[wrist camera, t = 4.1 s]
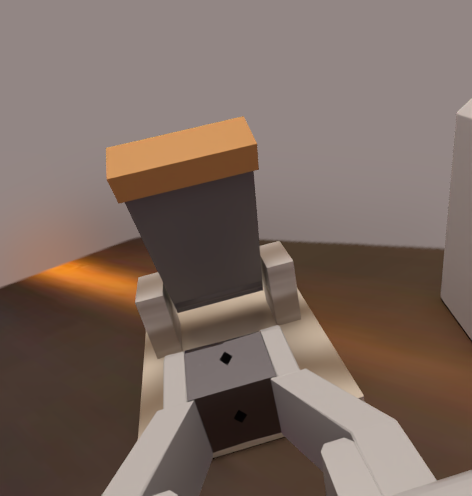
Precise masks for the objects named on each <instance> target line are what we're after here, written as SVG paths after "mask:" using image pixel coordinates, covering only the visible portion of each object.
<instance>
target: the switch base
mask: <svg viewBox="0 0 472 496" xmlns="http://www.w3.org/2000/svg"><path fill="white" fill-rule="evenodd" d="M260 258H261V270H262V282H263V291H259V292H255V293H251V294H248V295H244V296H240V297H236V298H233V299H229V300H225V301H221V302H218V303H214V304H210V305H207V306H203V307H199V308H195V309H192V310H188V311H184V312H180V313H177V311H176V308H175V306H174V304H173V302H172V300H171V298H170V296H169V294H168V292H167V290H166V288H165V285H164V283H163V281H162V279H161V277H160V275H159V273H154V274H150V275H146V276H142V277H139V278H138V285H137V293H136V300H135V304H136V306H137V309H138V311H139V314H140V316H141V319H142V321H143V324H144V326H145V329H146V339H145V352H144V366H143V380H142V393H141V407H140V420H139V434H138V439H139V438H140V436H141V435H142V433H143V432H144V430H145V429H146V427H147V426H148V424H149V423H150V421H151V419H152V418H153V416H154V415H155V413H156V412H157V411H159V410H162V409H163V366H164V358H165V356H167V355H171V354H175V353H179V352H183V351H185V350H189V349H193V348H197V347H201V346H205V345H209V344H213V343H217V342H221V341H225V340H228V339H232V338H236V337H239V336H243V335H246V334H250V333H253V332H257V331H260V330H262V329H266V328H269V327H272V326H276V325H279V326H280V327H281V330H282V332H283V334H284V336H285V338H286V340H287V343H288V345H289V347H290V349H291V351H292V353H293V356H294V358H295V360H296V362H297V364H298V366H299V369H300V370H302V369H308V370H310V371H311V372H313V373H315V374H316V375H318V376H320V377H322V378H323V379H325V380H327V381H329V382H330V383H332V384H334V385H336V386H337V387H339V388H341V389H343V390H344V391H346V392H348V393H350V394H351V395H353V396H355V397H357V398H358V399H360V400H362V401H364V395H363V394H362V392H361V391H360V389H359V387H358V386H357V384H356V382H355V381H354V379H353V378H352V376H351V374H350V373H349V371H348V370H347V368H346V366H345V365H344V363H343V361H342V360H341V358H340V357H339V355H338V353H337V352H336V350H335V349H334V347H333V345H332V344H331V342H330V340H329V339H328V337H327V336H326V334H325V332H324V331H323V329H322V328H321V326H320V324H319V323H318V321H317V320H316V318H315V316H314V315H313V313H312V311H311V310H310V308H309V307H308V305H307V303H306V302H305V300H304V299H303V297H302V295H301V294H300V292H299V290H298V289H297V285H296V278H295V271H294V263H293V260H292V259H291V257H290V256H289V254H288V253H287V251H286V250H285V249H284V247H283V246H282V244H281V243H280V241H278V242H274V243H270V244H266V245H262V246H260ZM282 437H285V436H284V435H282V433H278V434H274V435H271V436H267V437H263V438H259V439H256V440H252V441H248V442H245V443H242V444H239V445H236V446H233V447H230V448H227V449H223V450H220V451H217V452H214V453H213V458H215V457H218V456H222V455H225V454H228V453H232V452H235V451H238V450H242V449H245V448H248V447H252V446H255V445H258V444H262V443H265V442H268V441H272V440H275V439H278V438H282Z"/></svg>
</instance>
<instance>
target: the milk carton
mask: <svg viewBox="0 0 472 496" xmlns="http://www.w3.org/2000/svg"><path fill="white" fill-rule="evenodd" d="M441 298H442V300H443V301H444V303H445V304H446V306H447V307H448V308H449V310H450V311H451V313H452V314H453V315H454V317H455V318H456V319H457V321H458V322H459V324H460V325H461V326H462V328H463V329H464V331H465V332H466V333H467V335H468V336H469V337H470V339H471V340H472V99H470V100H469V101H468V102H467V103H466V104H465V105H464V106H463V107H462V108H461V109H460V110H459V111H458V112H457V116H456V127H455V139H454V150H453V162H452V173H451V184H450V195H449V207H448V219H447V230H446V241H445V252H444V263H443V274H442V286H441Z"/></svg>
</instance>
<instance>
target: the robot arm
mask: <svg viewBox="0 0 472 496" xmlns="http://www.w3.org/2000/svg"><path fill="white" fill-rule="evenodd" d="M278 433H282V435H284V436H285V437H286V438H287V439H288V440H289V441H290V442H291V443H292V444H293V445H294V446H296V447H297V448H298V449H299V450H300V451H301V452H302V453H303V454H304V455H305V456H306V457H307V458H309V459H310V460H311V461H312V462H313V463H314V464H315V465H316V466H317V467H318V468H319V469H321V470H322V471H323V473H324V481H325V488H326V496H472V470H470V471H466V472H463V473H460V474H457V475H454V476H451V477H448V478H444V479H441V480H438V481H437V480H436V479H435V477H434V476H433V474H432V473H431V471H430V470H429V468H428V467H427V465H426V464H425V462H424V461H423V459H422V458H421V456H420V455H419V453H418V452H417V450H416V449H415V447H414V446H413V444H412V443H411V441H410V440H409V438H408V437H407V435H406V434H405V432H404V431H403V429H402V428H401V426H400V425H399V423H398V422H397V420H395V419H393V418H391V417H390V416H388V415H386V414H384V413H383V412H381V411H379V410H377V409H376V408H374V407H372V406H370V405H369V404H367V403H365V402H364V401H362V400H360V399H358V398H357V397H355V396H353V395H351V394H350V393H348V392H346V391H344V390H343V389H341V388H339V387H337V386H336V385H334V384H332V383H330V382H329V381H327V380H325V379H323V378H322V377H320V376H318V375H316V374H315V373H313V372H311V371H310V370H308V369H302V370H300V369H299V366H298V364H297V362H296V360H295V358H294V356H293V353H292V351H291V349H290V347H289V345H288V343H287V340H286V338H285V336H284V334H283V332H282V330H281V327H280V326H279V325H276V326H272V327H269V328H266V329H262V330H260V331H257V332H253V333H250V334H246V335H243V336H239V337H236V338H232V339H228V340H225V341H221V342H217V343H213V344H209V345H205V346H201V347H197V348H193V349H189V350H185V351H183V352H179V353H175V354H171V355H167V356H165V358H164V366H163V409H162V410H159V411H157V412H156V413H155V415H154V416H153V418H152V419H151V421H150V423H149V424H148V426H147V427H146V429H145V430H144V432H143V433H142V435H141V436H140V438H139V439H138V441H137V442H136V444H135V445H134V447H133V448H132V450H131V452H130V453H129V455H128V456H127V458H126V459H125V461H124V462H123V464H122V465H121V467H120V468H119V470H118V471H117V473H116V474H115V476H114V477H113V479H112V481H111V482H110V484H109V485H108V487H107V488H106V490H105V491H104V493H103V494H102V496H199V494H200V491H201V488H202V486H203V483H204V480H205V477H206V475H207V472H208V469H209V466H210V464H211V461H212V458H213V453H214V452H217V451H220V450H223V449H227V448H230V447H233V446H236V445H239V444H242V443H245V442H248V441H252V440H256V439H259V438H263V437H267V436H271V435H274V434H278Z"/></svg>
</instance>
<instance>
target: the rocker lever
mask: <svg viewBox="0 0 472 496" xmlns="http://www.w3.org/2000/svg"><path fill="white" fill-rule="evenodd" d="M106 166H107V181H108V183H109V185H110V187H111V189H112V191H113V193H114V195H115V197H116V199H117V201H118V203H123V202H125V204H126V206H127V208H128V210H129V212H130V214H131V216H132V219H133V221H134V223H135V225H136V227H137V229H138V231H139V233H140V235H141V237H142V240H143V242H144V244H145V246H146V248H147V250H148V252H149V254H150V256H151V258H152V260H153V262H154V265H155V267H156V269H157V271H158V273H159V275H160V277H161V279H162V281H163V283H164V285H165V288H166V290H167V292H168V294H169V296H170V298H171V300H172V302H173V304H174V306H175V308H176V311H177V313H180V312H184V311H188V310H192V309H195V308H199V307H203V306H207V305H210V304H214V303H218V302H221V301H225V300H229V299H233V298H236V297H240V296H244V295H248V294H251V293H255V292H259V291H263V282H262V270H261V258H260V245H259V233H258V221H257V209H256V197H255V185H254V173H253V171H254V170H258V169H259V168H258V152H257V143H256V141H255V139H254V137H253V135H252V133H251V131H250V128H249V126H248V124H247V122H246V120H245V118H244V117H243V116H242V117H238V118H234V119H230V120H225V121H221V122H217V123H212V124H208V125H204V126H200V127H195V128H191V129H186V130H182V131H178V132H174V133H169V134H165V135H160V136H156V137H152V138H147V139H143V140H139V141H134V142H130V143H126V144H122V145H117V146H113V147H108V148H106Z"/></svg>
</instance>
